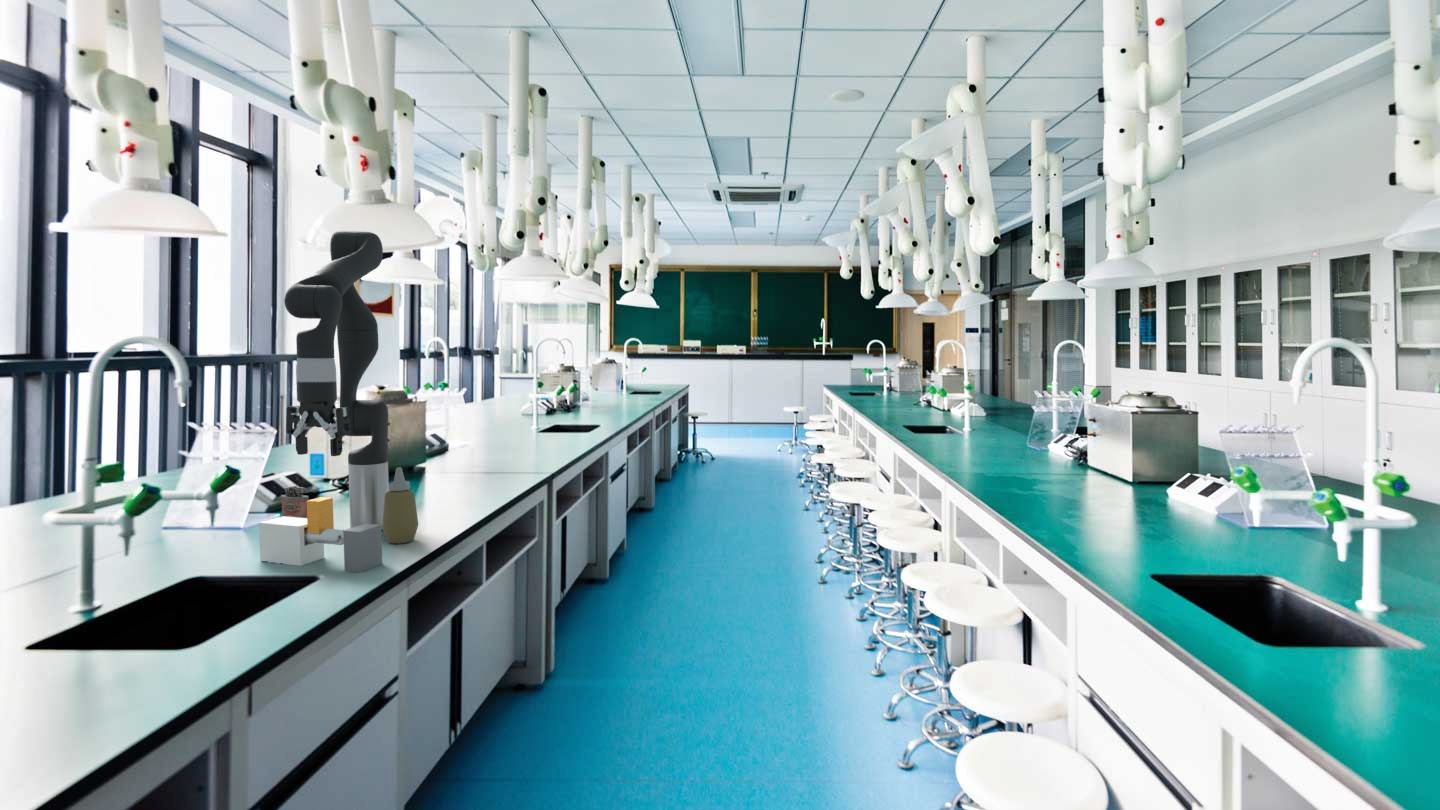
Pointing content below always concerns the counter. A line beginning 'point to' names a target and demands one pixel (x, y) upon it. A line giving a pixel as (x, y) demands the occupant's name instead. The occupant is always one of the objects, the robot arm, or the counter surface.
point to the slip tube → (322, 523)
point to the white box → (287, 542)
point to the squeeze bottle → (399, 511)
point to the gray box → (362, 547)
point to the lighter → (294, 502)
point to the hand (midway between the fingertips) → (319, 455)
